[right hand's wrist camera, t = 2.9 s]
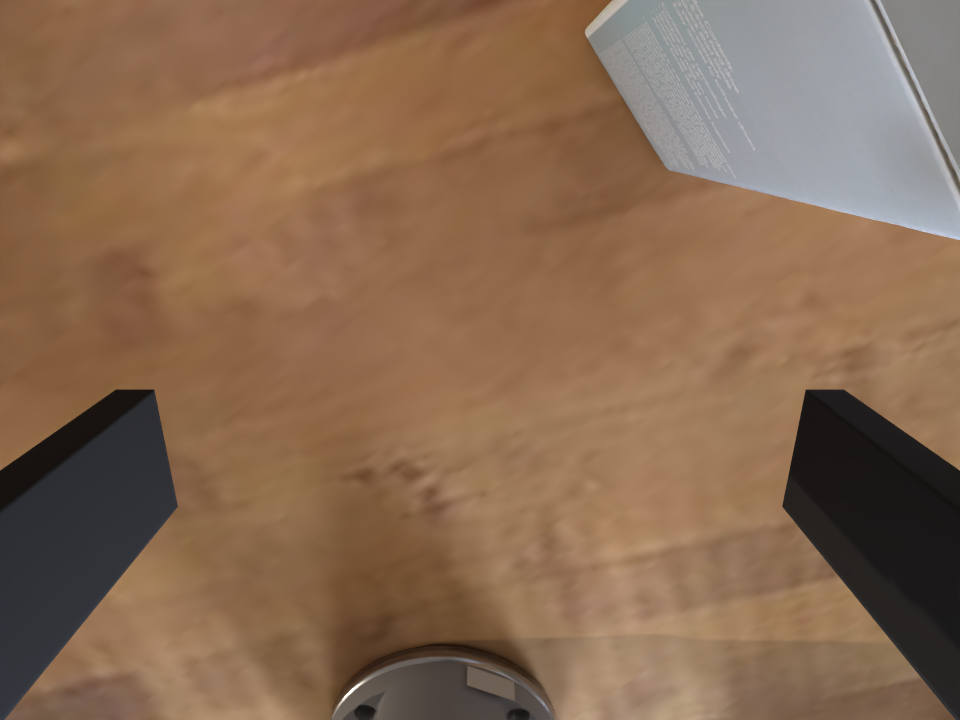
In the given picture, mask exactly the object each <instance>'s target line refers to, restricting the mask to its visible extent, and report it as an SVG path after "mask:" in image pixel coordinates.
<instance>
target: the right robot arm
mask: <svg viewBox="0 0 960 720" xmlns="http://www.w3.org/2000/svg"><path fill="white" fill-rule="evenodd" d="M177 507H178V506H177V501H176V496H175V491H174V486H173V481H172V476H171V471H170V466H169V461H168V456H167V451H166V446H165V441H164V436H163V431H162V426H161V421H160V416H159V411H158V406H157V401H156V396H155V391H154V390H115V391H113V392H112V393H111V394H109V395H108V396H106V397H105V398H103V399H102V400H101V401H99V402H98V403H96V404H95V405H93V406H92V407H91V408H89V409H88V410H86V411H85V412H83V413H82V414H81V415H79V416H78V417H76V418H75V419H73V420H72V421H71V422H69V423H68V424H66V425H65V426H63V427H62V428H61V429H59V430H58V431H56V432H55V433H53V434H52V435H51V436H49V437H48V438H46V439H45V440H43V441H42V442H41V443H39V444H38V445H36V446H35V447H33V448H32V449H31V450H29V451H28V452H26V453H25V454H23V455H22V456H21V457H19V458H18V459H16V460H15V461H13V462H12V463H11V464H9V465H8V466H6V467H5V468H3V469H2V470H1V471H0V720H5V718H6V717H7V716H8V715H9V713H10V712H11V711H12V710H13V708H14V707H15V706H16V705H17V704H18V702H19V701H20V700H21V699H22V697H23V696H24V695H25V694H26V692H27V691H28V690H29V689H30V688H31V686H32V685H33V684H34V683H35V681H36V680H37V679H38V678H39V676H40V675H41V674H42V673H43V672H44V670H45V669H46V668H47V667H48V665H49V664H50V663H51V662H52V661H53V659H54V658H55V657H56V656H57V654H58V653H59V652H60V651H61V649H62V648H63V647H64V646H65V645H66V643H67V642H68V641H69V640H70V638H71V637H72V636H73V635H74V633H75V632H76V631H77V630H78V629H79V627H80V626H81V625H82V624H83V622H84V621H85V620H86V619H87V617H88V616H89V615H90V614H91V613H92V611H93V610H94V609H95V608H96V606H97V605H98V604H99V603H100V602H101V600H102V599H103V598H104V597H105V595H106V594H107V593H108V592H109V590H110V589H111V588H112V587H113V586H114V584H115V583H116V582H117V581H118V579H119V578H120V577H121V576H122V574H123V573H124V572H125V571H126V570H127V568H128V567H129V566H130V565H131V563H132V562H133V561H134V560H135V558H136V557H137V556H138V555H139V554H140V552H141V551H142V550H143V549H144V547H145V546H146V545H147V544H148V543H149V541H150V540H151V539H152V538H153V536H154V535H155V534H156V533H157V531H158V530H159V529H160V528H161V527H162V525H163V524H164V523H165V522H166V520H167V519H168V518H169V517H170V515H171V514H172V513H173V512H174V511H175V509H176V508H177ZM782 507H783V508H784V509H785V511H786V512H787V513H788V514H789V515H790V517H791V518H792V519H793V520H794V522H795V523H796V524H797V525H798V527H799V528H800V529H801V530H802V531H803V533H804V534H805V535H806V536H807V538H808V539H809V540H810V541H811V543H812V544H813V545H814V546H815V547H816V549H817V550H818V551H819V552H820V554H821V555H822V556H823V557H824V558H825V560H826V561H827V562H828V563H829V565H830V566H831V567H832V568H833V570H834V571H835V572H836V573H837V574H838V576H839V577H840V578H841V579H842V581H843V582H844V583H845V584H846V586H847V587H848V588H849V589H850V590H851V592H852V593H853V594H854V595H855V597H856V598H857V599H858V600H859V602H860V603H861V604H862V605H863V606H864V608H865V609H866V610H867V611H868V613H869V614H870V615H871V616H872V617H873V619H874V620H875V621H876V622H877V624H878V625H879V626H880V627H881V629H882V630H883V631H884V632H885V633H886V635H887V636H888V637H889V638H890V640H891V641H892V642H893V643H894V645H895V646H896V647H897V648H898V649H899V651H900V652H901V653H902V654H903V656H904V657H905V658H906V659H907V661H908V662H909V663H910V664H911V665H912V667H913V668H914V669H915V670H916V672H917V673H918V674H919V675H920V676H921V678H922V679H923V680H924V681H925V683H926V684H927V685H928V686H929V688H930V689H931V690H932V691H933V692H934V694H935V695H936V696H937V697H938V699H939V700H940V701H941V702H942V704H943V705H944V706H945V707H946V708H947V710H948V711H949V712H950V713H951V715H952V716H953V717H954V718H955V720H960V471H959V470H958V469H957V468H955V467H954V466H952V465H951V464H949V463H948V462H947V461H945V460H944V459H942V458H941V457H939V456H938V455H937V454H935V453H934V452H932V451H931V450H929V449H928V448H927V447H925V446H924V445H922V444H921V443H919V442H918V441H917V440H915V439H914V438H912V437H911V436H909V435H908V434H907V433H905V432H904V431H902V430H901V429H899V428H898V427H897V426H895V425H894V424H892V423H891V422H889V421H888V420H887V419H885V418H884V417H882V416H881V415H879V414H878V413H877V412H875V411H874V410H872V409H871V408H869V407H868V406H867V405H865V404H864V403H862V402H861V401H859V400H858V399H857V398H855V397H854V396H852V395H851V394H849V393H848V392H847V391H845V390H806V391H805V396H804V401H803V406H802V411H801V416H800V421H799V426H798V431H797V436H796V441H795V446H794V451H793V456H792V461H791V466H790V471H789V476H788V481H787V486H786V491H785V496H784V501H783V506H782ZM331 720H556V716H555V712H554V709H553V707H552V704H551V702H550V700H549V698H548V696H547V695H546V693H545V692H544V690H543V689H542V688H541V687H540V685H539V684H538V683H537V682H536V681H535V680H534V679H533V678H532V677H531V676H530V675H528V674H527V673H526V672H524V671H523V670H522V669H520V668H519V667H517V666H516V665H514V664H512V663H511V662H509V661H507V660H504V659H502V658H500V657H498V656H495V655H493V654H490V653H486V652H483V651H480V650H475V649H471V648H465V647H457V646H426V647H418V648H412V649H407V650H403V651H399V652H396V653H393V654H391V655H388V656H385V657H383V658H381V659H379V660H377V661H375V662H373V663H371V664H370V665H368V666H367V667H365V668H364V669H362V670H361V671H360V672H359V673H357V674H356V675H355V676H354V677H353V678H352V679H351V680H350V681H349V682H348V683H347V684H346V686H345V687H344V688H343V690H342V691H341V693H340V695H339V696H338V698H337V701H336V703H335V706H334V709H333V713H332V717H331Z"/></svg>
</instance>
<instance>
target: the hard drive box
mask: <svg viewBox="0 0 960 720" xmlns="http://www.w3.org/2000/svg"><path fill="white" fill-rule="evenodd" d="M585 35H586V37H587V39H588V40H589V42H590V44H591V45H592V47H593V49H594V51H595V52H596V54H597V56H598V57H599V59H600V61H601V62H602V64H603V66H604V67H605V69H606V71H607V72H608V74H609V76H610V77H611V79H612V81H613V82H614V84H615V86H616V87H617V89H618V91H619V92H620V94H621V96H622V97H623V99H624V101H625V102H626V104H627V106H628V107H629V109H630V111H631V112H632V114H633V115H634V117H635V119H636V120H637V122H638V124H639V125H640V127H641V129H642V130H643V132H644V134H645V135H646V137H647V139H648V140H649V142H650V144H651V145H652V147H653V148H654V150H655V151H656V153H657V154H658V156H659V157H660V159H661V161H662V162H663V164H664V165H665V167H666V168H667V169H668V170H669V171H676V172H679V173H684V174H688V175H692V176H697V177H701V178H704V179H708V180H713V181H717V182H721V183H724V184H729V185H733V186H738V187H742V188H746V189H750V190H754V191H758V192H762V193H766V194H771V195H775V196H779V197H783V198H787V199H791V200H795V201H799V202H804V203H808V204H813V205H816V206H820V207H824V208H828V209H832V210H836V211H840V212H844V213H849V214H853V215H857V216H861V217H865V218H869V219H874V220H879V221H883V222H887V223H892V224H896V225H900V226H904V227H908V228H911V229H915V230H919V231H923V232H927V233H932V234H936V235H941V236H945V237H949V238H953V239H957V240H960V0H612V1H611V2H610V3H609V4H608V5H607V6H606V7H605V8H604V9H603V11H602V12H601V13H600V14H599V15H598V16H597V17H596V18H595V19H594V21H593V22H592V23H591V24H590V25H589V26H588V27H587V28H586V29H585Z"/></svg>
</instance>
